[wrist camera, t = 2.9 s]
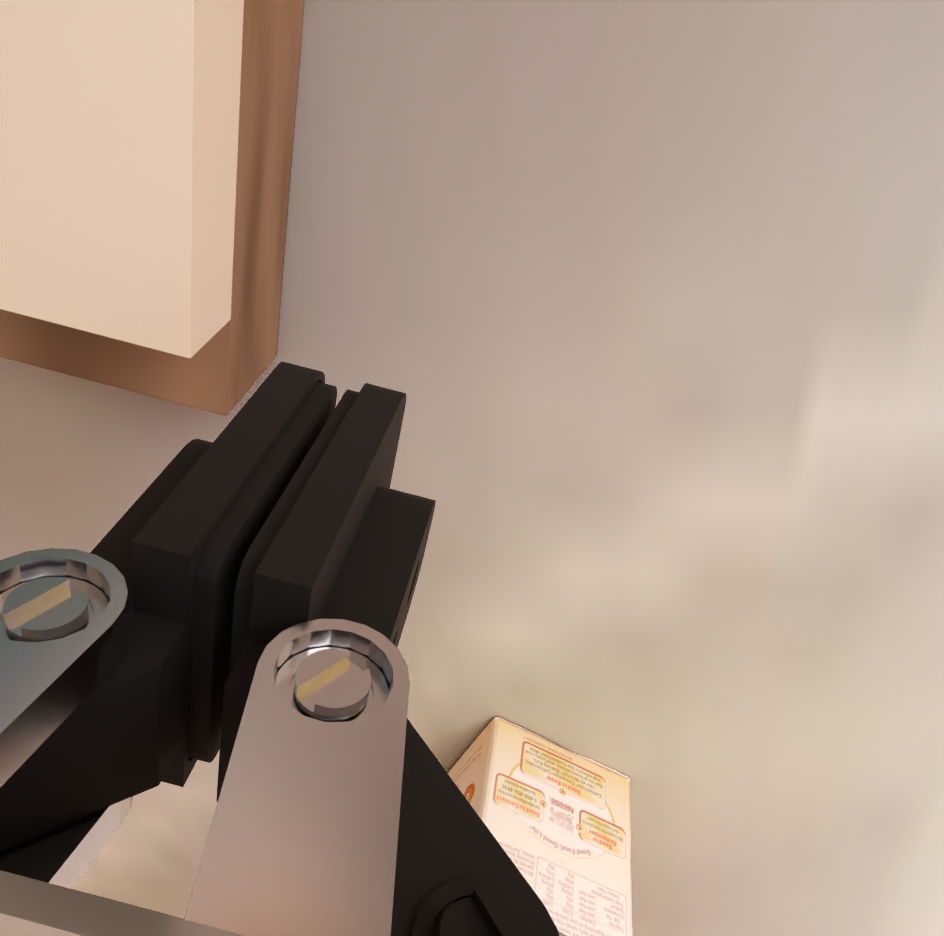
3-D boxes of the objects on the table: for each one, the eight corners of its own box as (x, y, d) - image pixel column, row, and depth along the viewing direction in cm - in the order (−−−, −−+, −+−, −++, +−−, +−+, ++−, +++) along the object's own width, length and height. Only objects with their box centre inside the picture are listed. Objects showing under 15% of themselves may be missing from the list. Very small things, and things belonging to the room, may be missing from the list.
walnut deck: (319, -190, 18) (253, -219, 15) (276, 356, 26) (226, 415, 23) (-63, -286, 18) (-214, -338, 15) (8, 286, 26) (-80, 335, 23)
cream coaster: (244, -33, 17) (195, -30, 15) (230, 319, 21) (190, 358, 19) (-128, -128, 17) (-229, -139, 15) (-64, 242, 21) (-135, 274, 19)
